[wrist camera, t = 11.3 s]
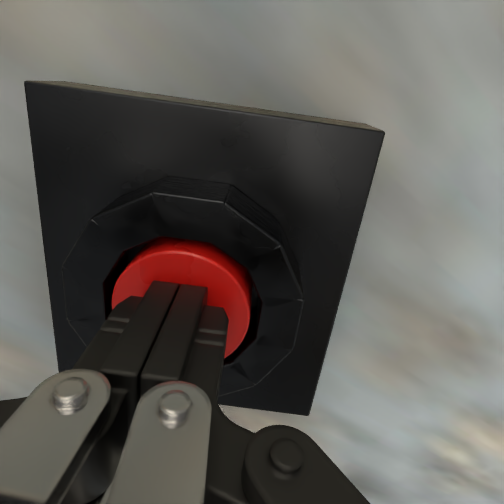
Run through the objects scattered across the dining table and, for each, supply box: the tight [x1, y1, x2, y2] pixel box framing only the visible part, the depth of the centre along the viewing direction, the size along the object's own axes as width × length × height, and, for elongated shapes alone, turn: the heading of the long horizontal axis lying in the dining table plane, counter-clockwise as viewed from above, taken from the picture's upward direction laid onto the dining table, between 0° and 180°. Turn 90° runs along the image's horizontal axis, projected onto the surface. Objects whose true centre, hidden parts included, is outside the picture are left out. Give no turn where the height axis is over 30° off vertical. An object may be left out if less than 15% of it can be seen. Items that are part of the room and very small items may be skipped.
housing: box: [24, 81, 385, 416], centre depth 12 cm, size 11×10×4 cm
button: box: [112, 236, 253, 358], centre depth 11 cm, size 4×4×2 cm
